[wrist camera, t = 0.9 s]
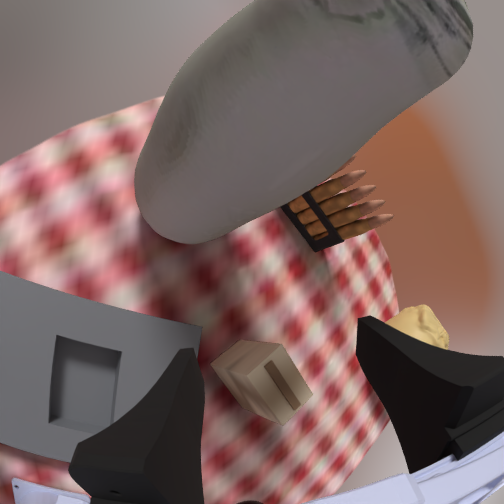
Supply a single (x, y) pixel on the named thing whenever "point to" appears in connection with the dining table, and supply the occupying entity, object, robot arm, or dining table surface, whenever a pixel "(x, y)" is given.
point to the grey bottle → (287, 104)
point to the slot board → (75, 364)
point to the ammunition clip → (334, 211)
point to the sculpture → (421, 325)
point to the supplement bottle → (250, 502)
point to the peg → (263, 379)
